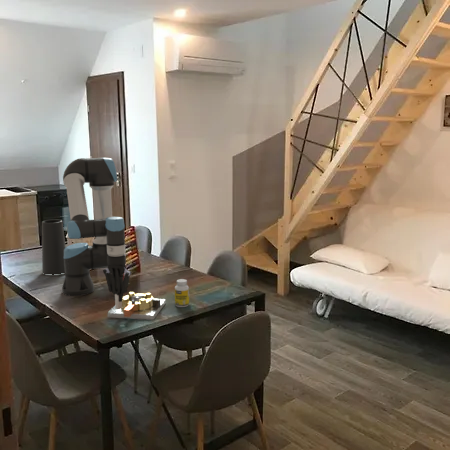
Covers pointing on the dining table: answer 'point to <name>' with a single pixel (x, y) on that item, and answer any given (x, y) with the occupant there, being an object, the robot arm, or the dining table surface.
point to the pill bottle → (181, 293)
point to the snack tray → (136, 303)
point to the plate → (140, 314)
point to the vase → (53, 247)
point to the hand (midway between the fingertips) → (118, 308)
